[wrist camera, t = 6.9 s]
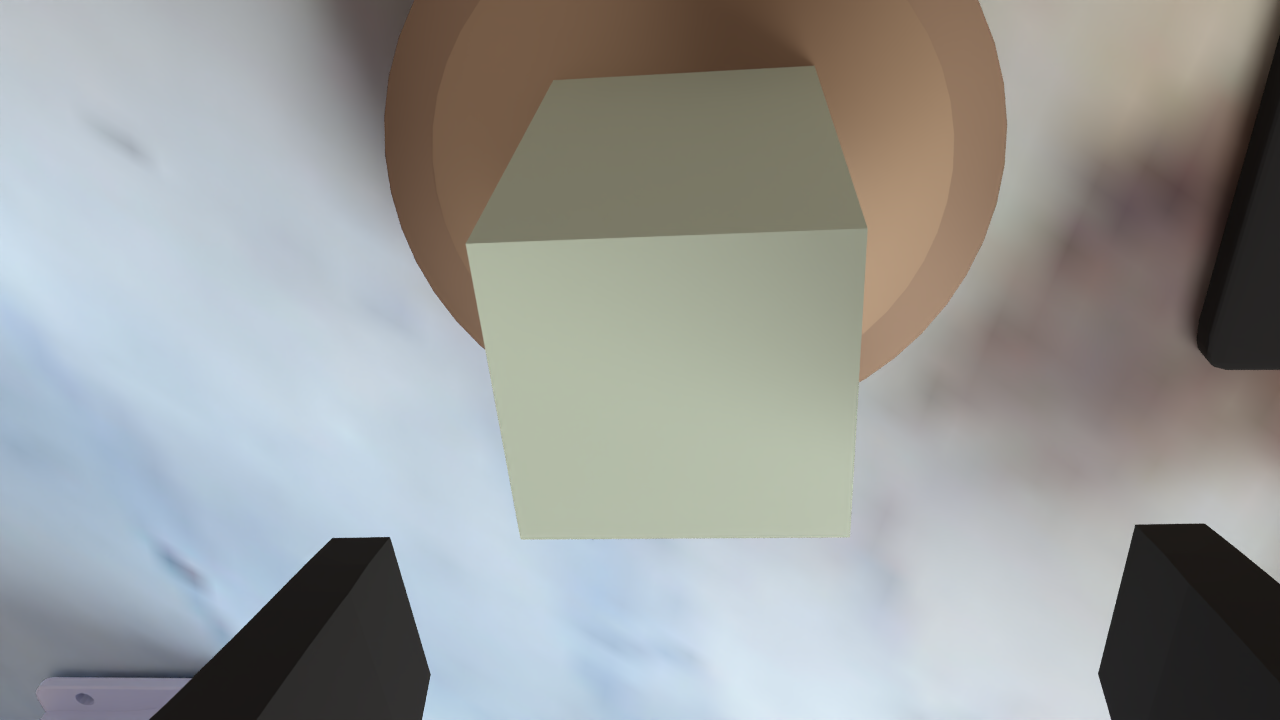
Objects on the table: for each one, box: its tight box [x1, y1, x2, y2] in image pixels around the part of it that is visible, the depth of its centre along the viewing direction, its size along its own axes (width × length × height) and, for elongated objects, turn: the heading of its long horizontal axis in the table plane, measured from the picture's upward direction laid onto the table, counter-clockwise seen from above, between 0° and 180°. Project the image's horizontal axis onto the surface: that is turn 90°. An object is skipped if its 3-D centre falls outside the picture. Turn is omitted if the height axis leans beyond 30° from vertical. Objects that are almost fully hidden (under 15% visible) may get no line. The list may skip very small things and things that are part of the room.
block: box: [466, 66, 868, 539], centre depth 13 cm, size 4×4×6 cm
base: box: [384, 0, 1007, 382], centre depth 16 cm, size 10×10×3 cm
